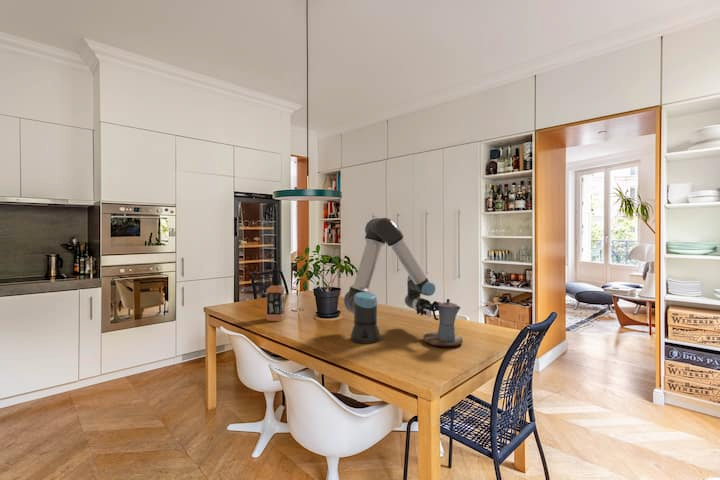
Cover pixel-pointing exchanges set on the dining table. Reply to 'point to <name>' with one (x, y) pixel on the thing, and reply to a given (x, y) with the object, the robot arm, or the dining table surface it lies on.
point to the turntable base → (442, 346)
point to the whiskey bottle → (275, 299)
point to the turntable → (432, 339)
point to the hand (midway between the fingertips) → (442, 313)
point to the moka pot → (446, 320)
